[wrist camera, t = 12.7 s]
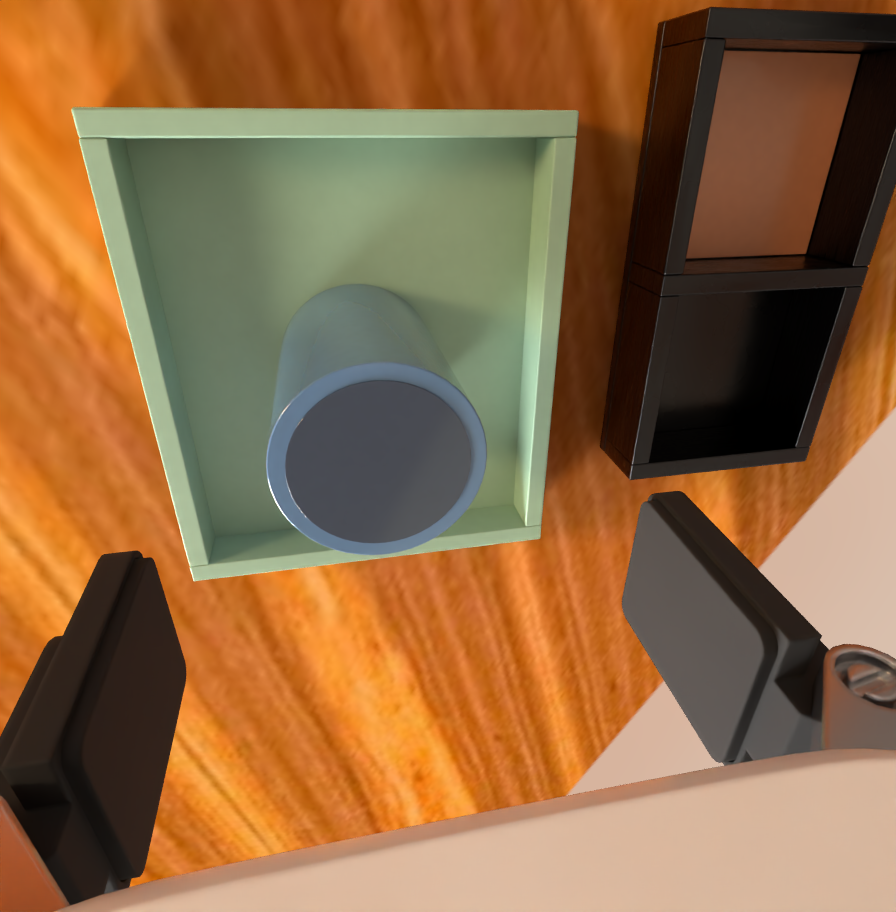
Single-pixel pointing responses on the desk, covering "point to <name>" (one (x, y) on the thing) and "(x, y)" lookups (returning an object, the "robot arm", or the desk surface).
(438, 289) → the tray
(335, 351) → the blue cup
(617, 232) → the desk surface
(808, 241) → the black divided tray
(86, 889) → the robot arm
